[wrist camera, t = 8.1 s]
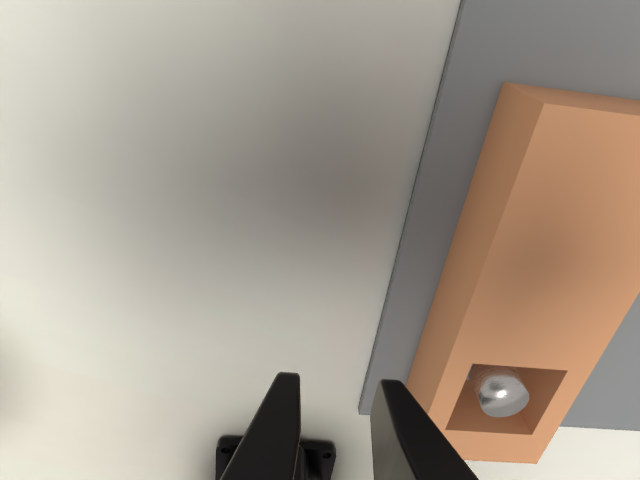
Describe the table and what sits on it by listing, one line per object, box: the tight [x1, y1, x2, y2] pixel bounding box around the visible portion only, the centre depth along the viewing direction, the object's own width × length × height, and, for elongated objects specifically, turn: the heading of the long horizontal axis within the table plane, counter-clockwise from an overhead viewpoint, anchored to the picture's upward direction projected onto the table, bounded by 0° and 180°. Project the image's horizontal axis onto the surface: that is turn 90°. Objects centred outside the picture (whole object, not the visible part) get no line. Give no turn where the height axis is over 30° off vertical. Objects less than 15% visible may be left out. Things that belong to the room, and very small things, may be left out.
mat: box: [358, 0, 640, 431], centre depth 19 cm, size 21×18×1 cm
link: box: [406, 82, 640, 464], centre depth 18 cm, size 16×6×3 cm, turn 172°
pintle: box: [468, 364, 529, 417], centre depth 20 cm, size 2×2×3 cm
